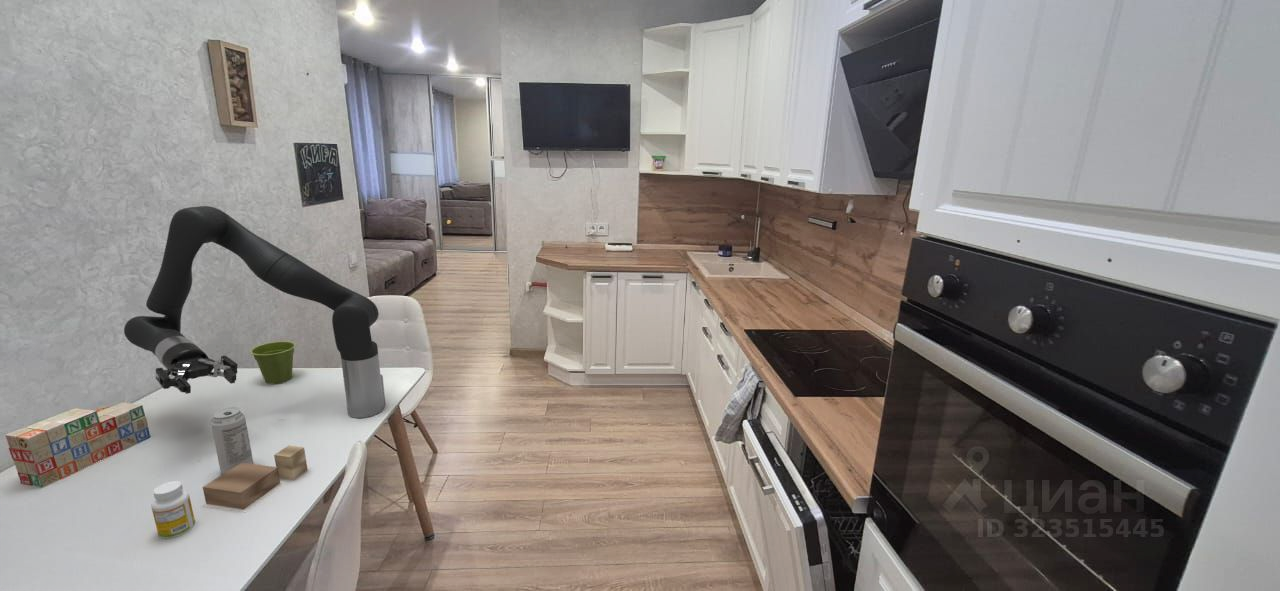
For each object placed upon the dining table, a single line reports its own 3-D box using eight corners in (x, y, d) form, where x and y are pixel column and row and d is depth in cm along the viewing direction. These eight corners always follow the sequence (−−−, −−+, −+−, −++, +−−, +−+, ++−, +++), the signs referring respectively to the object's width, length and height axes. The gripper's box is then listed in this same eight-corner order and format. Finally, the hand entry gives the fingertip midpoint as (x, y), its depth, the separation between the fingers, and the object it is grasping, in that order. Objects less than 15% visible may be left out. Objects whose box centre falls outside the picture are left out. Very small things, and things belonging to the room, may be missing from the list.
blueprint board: (266, 465, 120) (265, 464, 120) (307, 471, 118) (307, 469, 118) (199, 510, 105) (199, 508, 104) (246, 517, 103) (245, 515, 103)
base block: (244, 478, 115) (242, 462, 113) (280, 483, 113) (277, 467, 112) (206, 503, 106) (202, 487, 105) (243, 509, 105) (240, 492, 104)
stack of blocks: (131, 434, 131) (120, 390, 128) (151, 437, 130) (141, 393, 127) (20, 484, 111) (3, 434, 108) (42, 488, 110) (26, 437, 106)
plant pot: (248, 381, 162) (243, 348, 159) (289, 370, 172) (284, 338, 169) (266, 391, 156) (260, 357, 153) (307, 378, 166) (303, 346, 163)
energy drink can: (246, 460, 122) (236, 403, 118) (259, 468, 119) (248, 410, 115) (216, 473, 117) (204, 414, 113) (228, 482, 114) (216, 421, 110)
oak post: (292, 468, 119) (288, 445, 117) (307, 470, 118) (304, 447, 117) (278, 478, 115) (274, 454, 113) (293, 480, 114) (289, 457, 113)
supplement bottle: (173, 521, 101) (163, 478, 99) (202, 520, 102) (193, 478, 99) (151, 540, 96) (139, 496, 94) (181, 539, 97) (171, 495, 94)
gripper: (142, 348, 119) (172, 378, 112) (216, 336, 131) (247, 363, 124) (142, 376, 121) (172, 408, 114) (215, 362, 133) (246, 390, 126)
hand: (211, 384), depth 119 cm, fingers open, 8 cm apart
